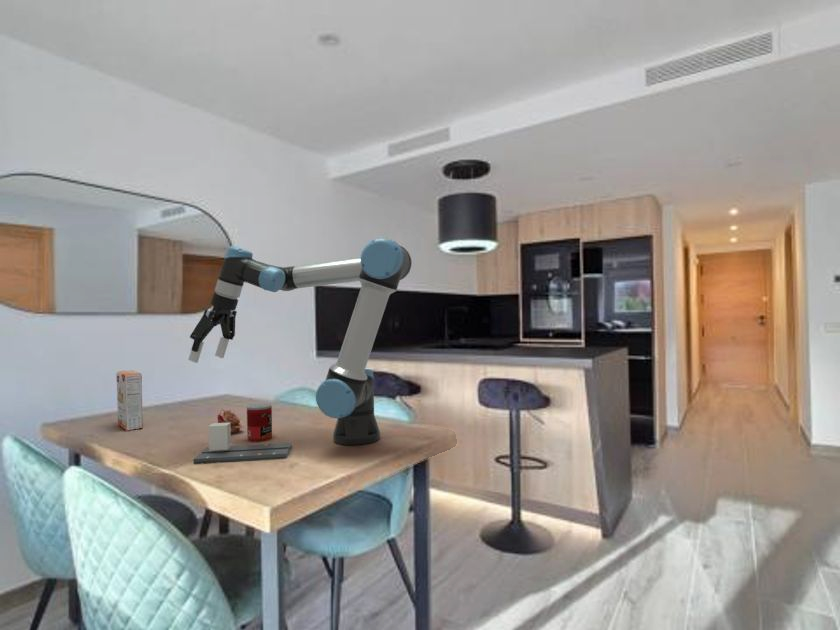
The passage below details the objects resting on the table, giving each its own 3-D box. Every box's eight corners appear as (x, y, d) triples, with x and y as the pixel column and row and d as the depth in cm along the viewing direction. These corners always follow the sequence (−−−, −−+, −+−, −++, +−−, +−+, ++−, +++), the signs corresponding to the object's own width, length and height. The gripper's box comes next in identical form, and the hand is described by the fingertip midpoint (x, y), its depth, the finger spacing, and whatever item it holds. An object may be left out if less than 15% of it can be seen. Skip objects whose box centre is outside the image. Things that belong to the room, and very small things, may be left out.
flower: (207, 432, 161) (220, 413, 161) (212, 421, 170) (224, 403, 170) (232, 445, 164) (245, 426, 164) (236, 433, 173) (248, 416, 173)
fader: (231, 451, 140) (230, 422, 140) (227, 454, 136) (226, 425, 136) (213, 452, 139) (212, 423, 139) (209, 456, 135) (208, 426, 135)
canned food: (264, 442, 153) (264, 408, 153) (242, 441, 155) (241, 407, 155) (276, 436, 160) (276, 403, 160) (255, 435, 162) (254, 403, 162)
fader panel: (291, 447, 146) (291, 442, 146) (286, 458, 134) (286, 453, 134) (206, 451, 143) (206, 447, 143) (193, 464, 131) (193, 458, 131)
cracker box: (116, 425, 182) (115, 371, 182) (134, 423, 186) (133, 370, 186) (124, 431, 172) (123, 374, 172) (143, 428, 176) (142, 372, 176)
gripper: (237, 293, 161) (219, 351, 162) (190, 289, 136) (169, 358, 138) (257, 300, 160) (238, 359, 161) (213, 298, 135) (191, 367, 136)
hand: (206, 359), depth 149 cm, fingers open, 13 cm apart
